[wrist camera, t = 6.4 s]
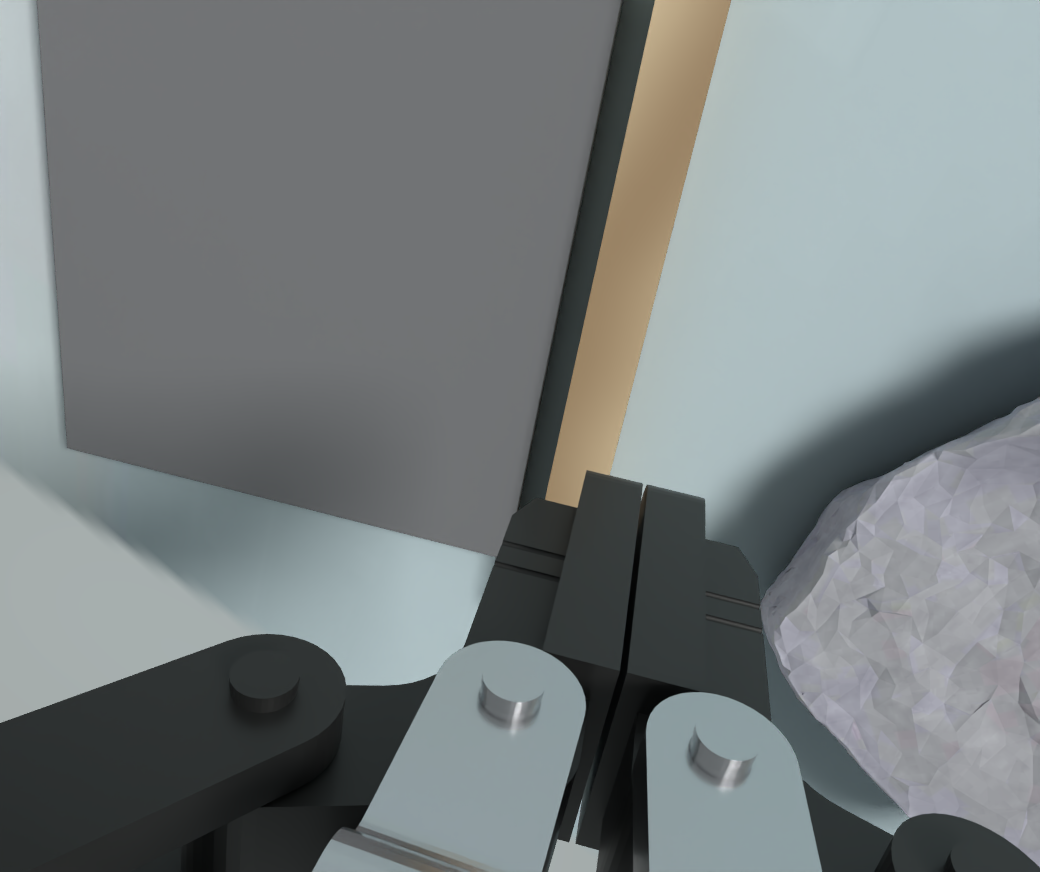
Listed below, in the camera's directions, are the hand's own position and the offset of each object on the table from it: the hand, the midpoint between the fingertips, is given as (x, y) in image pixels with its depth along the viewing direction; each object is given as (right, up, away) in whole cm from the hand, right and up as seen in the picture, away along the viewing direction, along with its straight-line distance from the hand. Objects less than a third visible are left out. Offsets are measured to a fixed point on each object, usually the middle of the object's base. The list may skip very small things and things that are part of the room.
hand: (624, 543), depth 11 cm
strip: (+1, +4, +7) cm, 8 cm away
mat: (-6, +5, +8) cm, 11 cm away
